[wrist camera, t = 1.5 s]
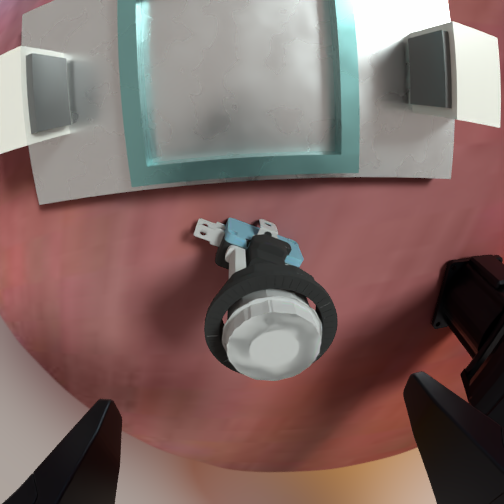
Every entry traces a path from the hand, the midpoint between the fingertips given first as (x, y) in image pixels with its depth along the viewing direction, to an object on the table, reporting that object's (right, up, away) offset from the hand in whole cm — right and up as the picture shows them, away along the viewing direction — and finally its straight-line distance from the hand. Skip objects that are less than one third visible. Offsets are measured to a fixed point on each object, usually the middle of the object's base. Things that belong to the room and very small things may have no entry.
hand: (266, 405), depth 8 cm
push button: (-1, +5, +12) cm, 13 cm away
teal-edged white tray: (-1, +15, +8) cm, 17 cm away
